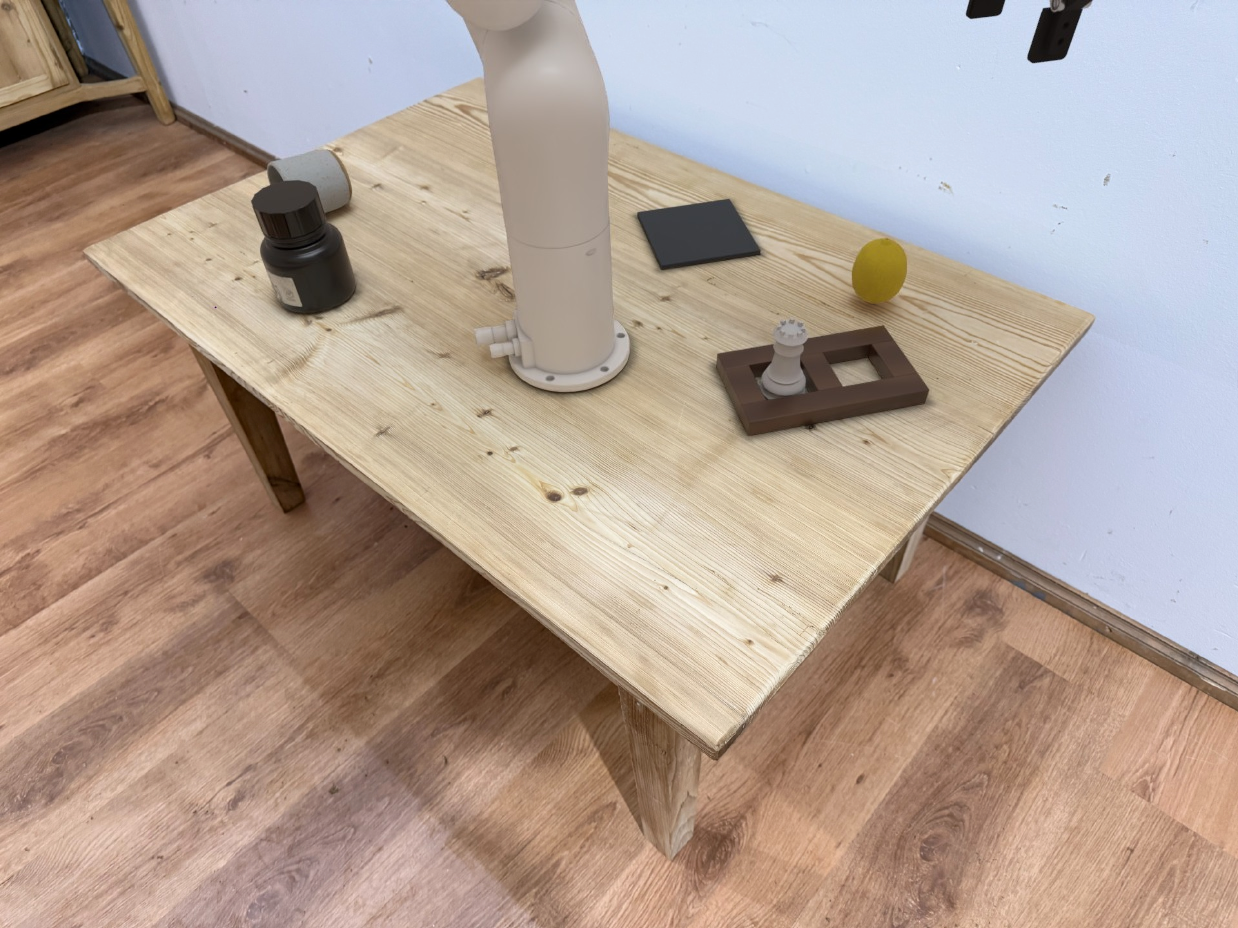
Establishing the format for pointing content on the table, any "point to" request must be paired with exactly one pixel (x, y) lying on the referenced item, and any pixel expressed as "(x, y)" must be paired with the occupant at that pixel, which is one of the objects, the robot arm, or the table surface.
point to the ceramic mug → (316, 175)
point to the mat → (697, 234)
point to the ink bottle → (302, 248)
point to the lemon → (879, 270)
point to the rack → (822, 381)
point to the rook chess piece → (785, 362)
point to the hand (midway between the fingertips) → (1012, 37)
